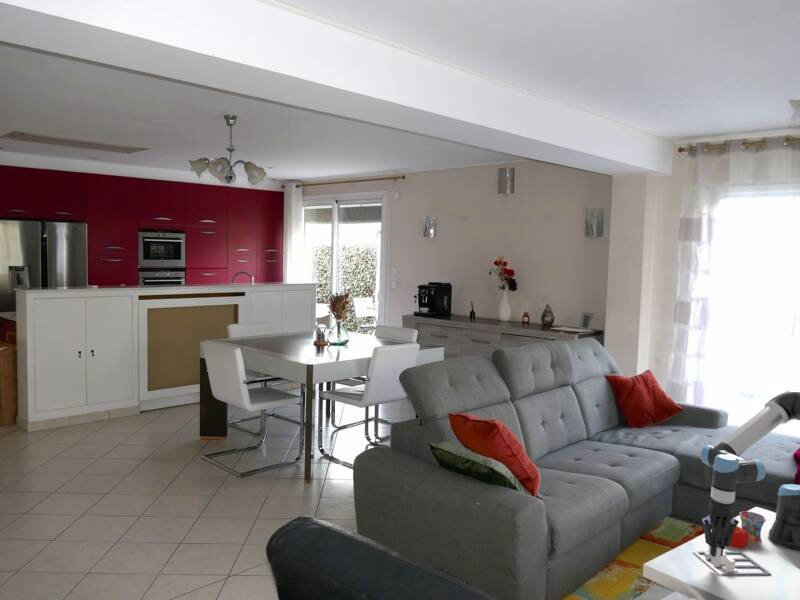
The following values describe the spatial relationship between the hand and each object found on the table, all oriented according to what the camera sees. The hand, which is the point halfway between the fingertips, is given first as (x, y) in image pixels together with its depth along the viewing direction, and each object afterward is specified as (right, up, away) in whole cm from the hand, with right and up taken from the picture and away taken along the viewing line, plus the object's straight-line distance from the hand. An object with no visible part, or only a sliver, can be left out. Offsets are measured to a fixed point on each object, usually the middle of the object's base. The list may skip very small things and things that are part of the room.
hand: (715, 564), depth 224 cm
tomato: (+19, -3, +24) cm, 30 cm away
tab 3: (+5, -3, +1) cm, 6 cm away
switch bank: (+9, -4, +6) cm, 12 cm away
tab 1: (+4, -2, +11) cm, 12 cm away
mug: (+29, -3, +30) cm, 42 cm away
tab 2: (+5, -2, +6) cm, 8 cm away
